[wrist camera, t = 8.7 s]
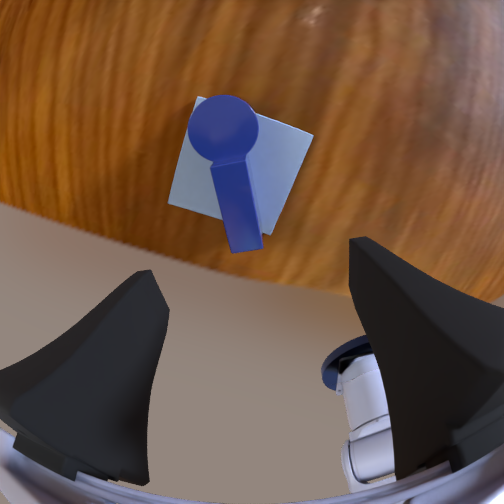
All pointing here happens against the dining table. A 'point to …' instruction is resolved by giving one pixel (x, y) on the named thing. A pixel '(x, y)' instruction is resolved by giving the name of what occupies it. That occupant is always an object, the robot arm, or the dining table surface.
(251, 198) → the blue spoon
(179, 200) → the blue mat
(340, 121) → the dining table surface
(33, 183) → the dining table surface
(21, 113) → the dining table surface
